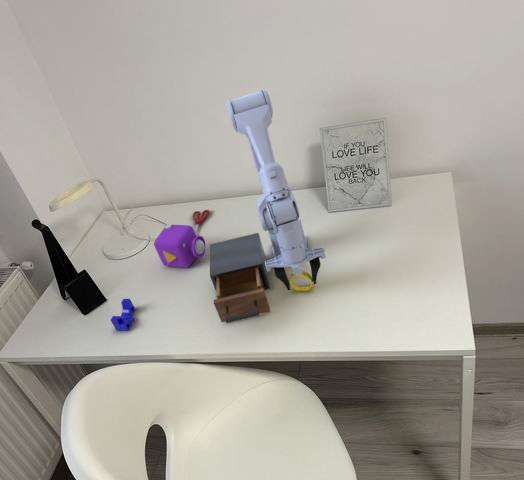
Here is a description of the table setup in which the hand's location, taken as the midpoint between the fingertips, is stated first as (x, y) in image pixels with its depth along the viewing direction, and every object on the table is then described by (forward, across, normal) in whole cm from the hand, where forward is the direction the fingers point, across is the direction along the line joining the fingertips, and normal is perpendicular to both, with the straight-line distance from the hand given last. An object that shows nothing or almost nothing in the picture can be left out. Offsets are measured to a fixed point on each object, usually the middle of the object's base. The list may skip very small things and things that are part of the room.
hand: (301, 284), depth 137 cm
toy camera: (+2, -31, +25) cm, 40 cm away
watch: (+2, 0, 0) cm, 2 cm away
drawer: (+1, -15, -2) cm, 15 cm away
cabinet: (+2, -15, +10) cm, 18 cm away
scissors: (+2, -28, +41) cm, 50 cm away
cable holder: (+2, -47, +4) cm, 47 cm away
